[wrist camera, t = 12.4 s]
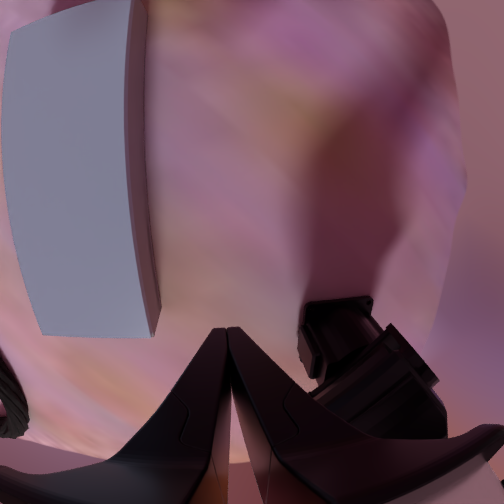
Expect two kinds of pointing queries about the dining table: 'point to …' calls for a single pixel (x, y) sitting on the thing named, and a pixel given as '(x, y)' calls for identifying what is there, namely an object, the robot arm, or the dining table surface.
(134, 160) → the grey tray with bar
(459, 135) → the dining table surface
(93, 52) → the cover
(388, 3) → the dining table surface
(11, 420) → the cable lock
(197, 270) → the dining table surface
